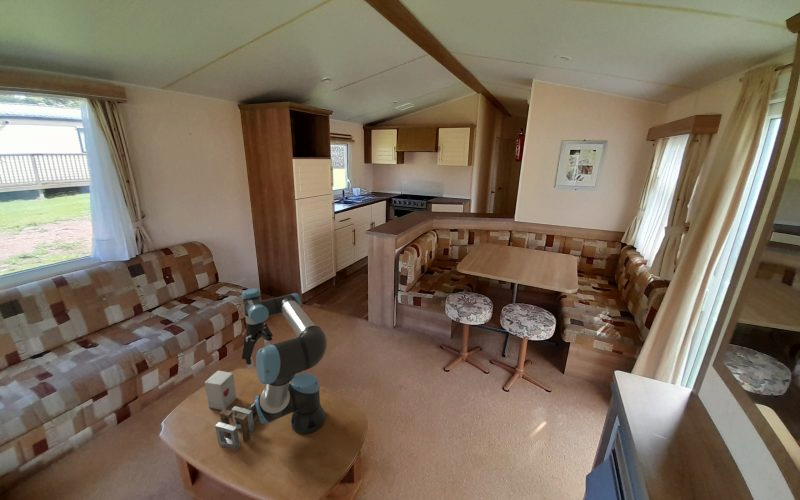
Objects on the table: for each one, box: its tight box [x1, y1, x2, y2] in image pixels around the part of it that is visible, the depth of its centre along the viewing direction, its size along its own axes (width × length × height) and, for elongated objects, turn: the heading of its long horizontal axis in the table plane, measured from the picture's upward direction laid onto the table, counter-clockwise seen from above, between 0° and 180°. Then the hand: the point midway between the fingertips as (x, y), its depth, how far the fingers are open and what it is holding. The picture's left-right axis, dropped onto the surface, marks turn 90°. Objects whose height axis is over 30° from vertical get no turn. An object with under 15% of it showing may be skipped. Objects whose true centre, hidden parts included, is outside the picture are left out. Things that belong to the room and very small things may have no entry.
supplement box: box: [204, 370, 237, 411], centre depth 155 cm, size 9×9×15 cm
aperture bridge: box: [219, 408, 251, 443], centre depth 137 cm, size 12×2×12 cm, turn 75°
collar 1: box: [214, 421, 241, 451], centre depth 133 cm, size 9×2×10 cm, turn 75°
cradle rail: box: [253, 412, 260, 424], centre depth 152 cm, size 4×15×3 cm, turn 165°
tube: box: [247, 400, 257, 415], centre depth 149 cm, size 16×4×4 cm, turn 165°
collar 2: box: [230, 405, 256, 434], centre depth 141 cm, size 9×2×10 cm, turn 75°
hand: (260, 360), depth 154 cm, fingers open, 13 cm apart
